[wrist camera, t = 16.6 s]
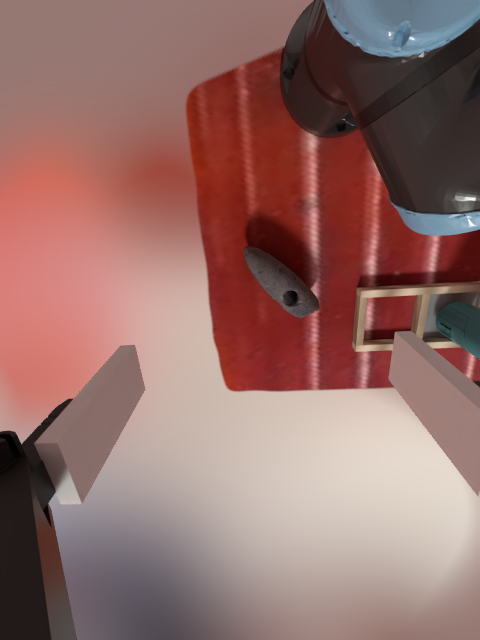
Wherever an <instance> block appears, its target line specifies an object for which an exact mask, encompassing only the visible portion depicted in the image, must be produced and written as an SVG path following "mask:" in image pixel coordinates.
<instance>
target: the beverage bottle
mask: <svg viewBox="0 0 480 640" xmlns="http://www.w3.org/2000/svg"><path fill="white" fill-rule="evenodd" d="M474 306H475V305H474ZM474 306H472V305H471V304H468V303H466V302H454V303H450V304H448V305H446V306H445V307H443V308H442V309H441V310H440V312H439V313H438V315H437V317H436V327H437V328H438V330H439V332H441V333H442V334H444V335H445V336H446V337H448V338H449V340H451V341H452V342H453V341H454V342H455V343H456V345H457V344H458V346H459V345H460V347H462V349H465V350H467V351H468V352H470V353H471V354H473V355H474V356H476V357H477V359H480V309H479V308H477V307H474ZM444 335H443V336H444ZM454 342H453V343H454Z"/></svg>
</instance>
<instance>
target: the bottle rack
mask: <svg viewBox="0 0 480 640" xmlns="http://www.w3.org/2000/svg"><path fill="white" fill-rule="evenodd" d="M407 295H416V299H415V305H414V312H413V318H412V324H411V330H410V331H412V332H413V333H414V334H415V335H417V336H418V337H419V338H420V339H421V340H423V341H424V342H425V343H426V344H427V345H429V346H430V347H431V348H453V347H460V345H459V346H458V344H457V345H456V343H455V342H454V341H453V342H454V343H453V342H452V341H451V340H449V338H448V337H446V336H445V335H444V334H442V333H441V332H439V330H438V328H437V327H436V317H437V315H438V313H439V312H440V310H441V309H442V308H443V307H445V306H446V305H448V304H450V303H454V302H466V303H468V304H471V305H472V306H474V305H475V306H474V307H477V308H479V309H480V281H472V282H454V283H435V284H416V285H398V286H379V287H360V288H357V294H356V306H355V318H354V329H353V341H352V347H353V349H354V350H355V352H358V351H382V350H393V343H394V339H380V340H363V339H364V330H365V320H366V310H367V300H368V297H387V296H407ZM443 335H444V336H443Z"/></svg>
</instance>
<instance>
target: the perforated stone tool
mask: <svg viewBox="0 0 480 640" xmlns="http://www.w3.org/2000/svg"><path fill="white" fill-rule="evenodd" d="M244 256H245V259H246V262H247V265H248V267H249V268H250V270H251V272H252V274H253V275H254V276H255V278H256V279H257V280H258V281H259V283H260V284H261V286H262V287H263V288H264V289H265V290H266V292H267V293H268V294H269V295H270V296H271V297H272V298H273V299H275V300H276V301H277V302H278V303H279V304H281V306H282V307H283V308H284V309H285V310H286V311H288V312H289V313H290V314H292V315H294V316H297V317H299V318H303V317H304V316H306V315H308V314H310V313H313V312H314V311H318V310H319V308H320V307H319V301H318V299H317V298H316V296H315V295H314V293H313V292H312V291H311V290H310V289H309V288H308V287H307V285H306V284H305V283H304V282H303V281H302V280H301V279H300V278H299V277H298V276H297V275H296V274H295V273H294V272H292V271H291V270H290V269H289V268H288V267H286V266H285V265H284V264H283V263H281V262H280V261H279V260H277V259H276V258H274V257H273V256H271V255H270V254H268V253H267V252H265V251H263V250H260V249H258V248H255V247H251V246H246V247H245V248H244Z"/></svg>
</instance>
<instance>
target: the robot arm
mask: <svg viewBox="0 0 480 640" xmlns="http://www.w3.org/2000/svg"><path fill="white" fill-rule="evenodd" d="M280 85H281V92H282V97H283V100H284V103H285V106H286V108H287V110H288V112H289V114H290V115H291V117H292V118H293V120H294V121H295V122H296V123H297V124H298V125H299V126H300V127H301V128H302V129H304V130H305V131H307V132H309V133H310V134H313V135H315V136H319V137H324V138H335V137H341V136H345V135H347V134H350V133H352V132H354V131H356V130H358V129H360V132H361V134H362V136H363V138H364V140H365V142H366V145H367V147H368V149H369V151H370V153H371V155H372V157H373V160H374V162H375V164H376V166H377V168H378V170H379V172H380V175H381V177H382V179H383V181H384V183H385V185H386V187H387V189H388V192H389V200H390V202H391V204H393V206H394V207H395V208H396V209H397V211H398V212H399V214H400V216H401V218H402V220H403V222H404V223H405V225H406V226H408V227H409V228H410V229H411V230H413V231H415V232H417V233H420V234H424V235H433V236H442V235H454V234H461V233H466V232H471V231H475V230H479V229H480V0H314V1H313V2H312V3H311V4H310V5H309V6H308V7H307V8H306V9H305V10H304V11H303V12H302V14H301V15H300V17H299V18H298V19H297V21H296V23H295V24H294V26H293V28H292V30H291V32H290V34H289V36H288V39H287V41H286V45H285V48H284V52H283V57H282V61H281V68H280ZM389 381H390V382H391V383H392V384H393V386H394V387H395V388H396V390H397V391H398V392H399V394H400V395H401V396H402V398H403V399H404V400H405V401H406V403H407V404H408V405H409V407H410V408H411V409H412V411H413V412H414V413H415V415H416V416H417V417H418V418H419V420H420V421H421V422H422V424H423V425H424V426H425V427H426V429H427V430H428V432H429V433H430V434H431V435H432V437H433V438H434V439H435V441H436V442H437V443H438V445H439V446H440V447H441V448H442V450H443V451H444V452H445V454H446V455H447V456H448V458H449V459H450V460H451V462H452V463H453V464H454V466H455V467H456V468H457V469H458V471H459V472H460V473H461V475H462V476H463V477H464V479H465V480H466V481H467V482H468V484H469V485H470V486H471V488H472V489H473V490H474V492H475V493H476V494H477V496H480V382H479V381H473V382H472V381H471V380H470V379H469V378H468V377H466V376H465V375H464V374H463V373H462V372H460V371H459V370H458V369H457V368H455V367H454V366H453V365H452V364H451V363H449V362H448V361H447V360H446V359H444V358H443V357H442V356H441V355H440V354H438V353H437V352H436V351H435V350H434V349H432V348H431V347H430V346H429V345H427V344H426V343H425V342H424V341H423V340H421V339H420V338H419V337H418V336H417V335H415V334H414V333H413V332H412V331H401V332H395V336H394V343H393V350H392V358H391V365H390V372H389ZM144 391H145V386H144V382H143V378H142V374H141V369H140V365H139V361H138V356H137V352H136V348H135V345H126V346H120V347H119V348H118V349H117V350H116V352H115V353H114V354H113V355H112V356H111V357H110V358H109V359H108V361H107V362H106V363H105V364H104V365H103V366H102V367H101V368H100V370H99V371H98V372H97V373H96V374H95V375H94V376H93V377H92V379H91V380H90V381H89V382H88V383H87V384H86V385H85V387H84V388H83V389H82V390H81V391H80V392H79V394H78V395H77V396H76V397H75V398H74V399H68V400H66V401H65V402H63V403H62V404H60V405H59V406H57V407H56V408H55V409H54V410H53V411H52V412H51V413H50V414H49V416H48V418H46V419H45V420H44V421H43V422H42V423H41V425H40V426H38V427H37V428H36V429H35V430H34V432H33V433H32V434H31V435H30V436H29V437H28V438H27V439H26V440H25V441H24V442H23V444H21V443H20V441H19V438H18V436H17V434H16V433H15V432H13V431H2V432H0V640H77V638H76V633H75V628H74V623H73V618H72V613H71V607H70V602H69V597H68V593H67V587H66V582H65V577H64V572H63V567H62V562H61V557H60V552H59V547H58V542H57V537H56V531H55V526H54V521H53V516H52V511H51V508H50V506H49V504H48V503H49V501H50V500H51V498H52V497H53V495H54V494H55V493H56V495H57V497H58V499H59V502H60V504H82V503H83V501H84V499H85V497H86V496H87V494H88V492H89V490H90V488H91V487H92V485H93V483H94V481H95V479H96V477H97V476H98V474H99V472H100V470H101V468H102V467H103V465H104V463H105V461H106V459H107V458H108V456H109V454H110V452H111V450H112V449H113V447H114V445H115V443H116V441H117V440H118V438H119V436H120V433H121V432H122V430H123V429H124V427H125V425H126V423H127V421H128V420H129V418H130V416H131V414H132V412H133V411H134V409H135V407H136V405H137V403H138V401H139V400H140V398H141V396H142V394H143V393H144Z"/></svg>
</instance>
